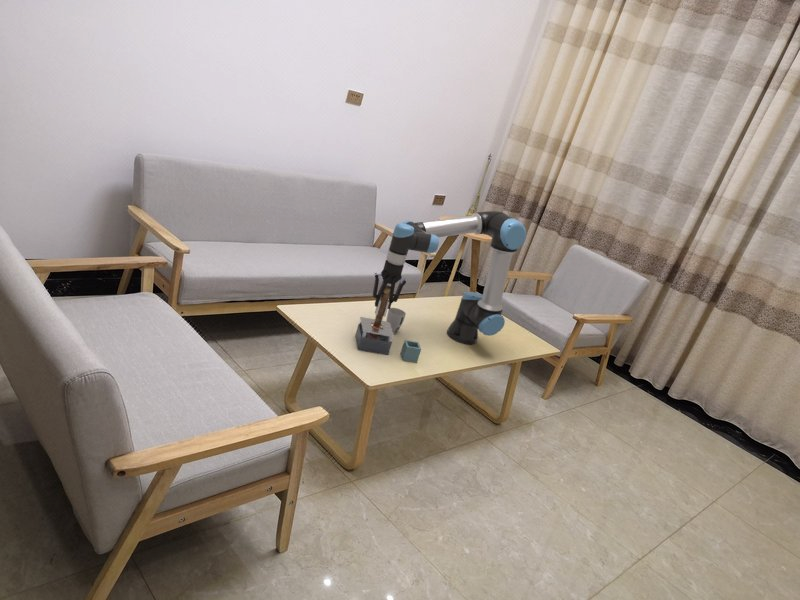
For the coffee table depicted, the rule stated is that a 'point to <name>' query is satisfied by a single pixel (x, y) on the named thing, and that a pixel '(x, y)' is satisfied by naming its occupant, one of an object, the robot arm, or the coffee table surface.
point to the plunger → (376, 328)
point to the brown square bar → (382, 306)
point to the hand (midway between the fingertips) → (380, 314)
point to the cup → (395, 318)
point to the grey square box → (374, 337)
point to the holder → (410, 351)
